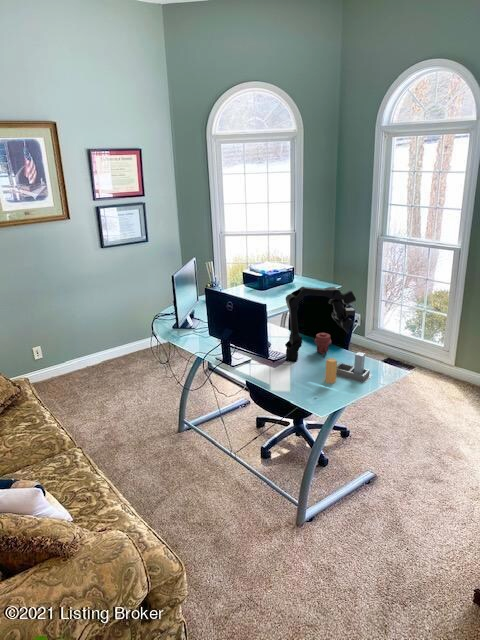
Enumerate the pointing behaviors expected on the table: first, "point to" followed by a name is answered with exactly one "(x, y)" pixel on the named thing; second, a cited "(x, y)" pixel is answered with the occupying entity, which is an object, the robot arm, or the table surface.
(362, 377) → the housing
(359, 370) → the grey rectangular block
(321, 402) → the table surface
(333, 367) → the yellow upright block
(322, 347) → the mechanical component
